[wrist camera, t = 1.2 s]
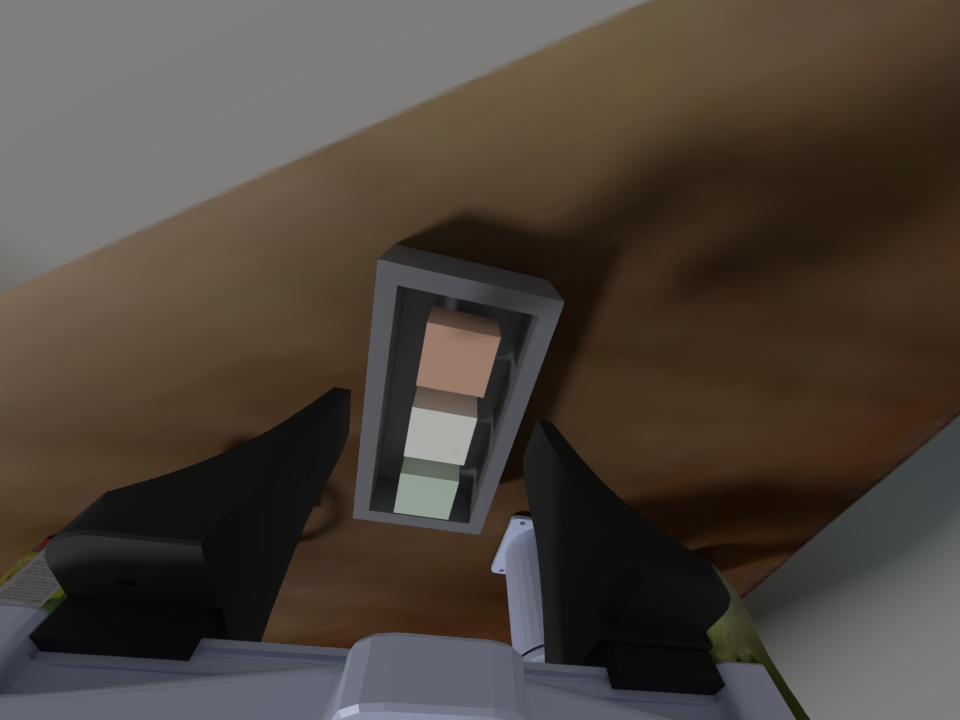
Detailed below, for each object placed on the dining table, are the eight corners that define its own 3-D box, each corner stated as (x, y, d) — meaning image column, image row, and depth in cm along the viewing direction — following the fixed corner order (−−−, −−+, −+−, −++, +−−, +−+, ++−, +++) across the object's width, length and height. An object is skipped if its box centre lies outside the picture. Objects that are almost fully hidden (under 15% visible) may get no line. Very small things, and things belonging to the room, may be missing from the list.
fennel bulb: (646, 571, 34) (724, 745, 24) (679, 542, 32) (779, 720, 22) (691, 583, 36) (784, 755, 25) (725, 557, 34) (842, 731, 23)
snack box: (134, 654, 40) (-33, 891, 27) (78, 647, 39) (-124, 889, 26) (115, 546, 31) (-153, 825, 18) (42, 533, 30) (-301, 819, 17)
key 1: (460, 454, 23) (459, 481, 21) (449, 490, 25) (448, 519, 23) (407, 445, 23) (400, 473, 21) (400, 483, 25) (393, 512, 22)
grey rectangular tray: (548, 279, 20) (564, 301, 17) (478, 490, 28) (479, 534, 25) (394, 243, 19) (377, 259, 16) (368, 473, 27) (353, 518, 24)
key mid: (476, 394, 21) (477, 418, 19) (464, 438, 23) (463, 465, 21) (418, 383, 21) (412, 406, 18) (410, 429, 22) (403, 456, 20)
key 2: (497, 319, 19) (501, 337, 17) (482, 374, 20) (483, 397, 18) (432, 305, 18) (427, 322, 16) (421, 363, 20) (416, 385, 18)
